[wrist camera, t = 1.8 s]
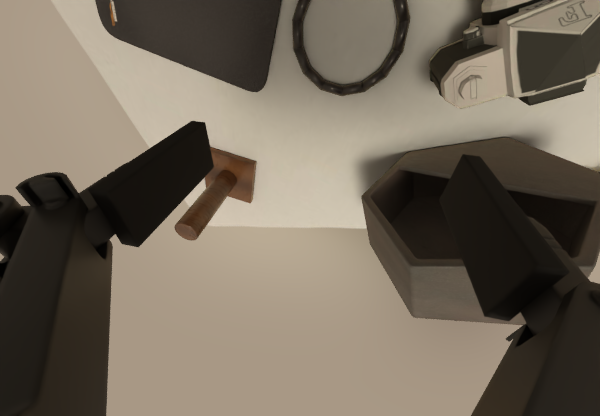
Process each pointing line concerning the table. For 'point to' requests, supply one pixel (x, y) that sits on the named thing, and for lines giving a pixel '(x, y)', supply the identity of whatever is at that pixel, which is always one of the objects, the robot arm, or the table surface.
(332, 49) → the table surface
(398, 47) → the ring
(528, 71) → the camera
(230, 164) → the stand
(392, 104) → the table surface
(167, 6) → the mouse pad
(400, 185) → the planter
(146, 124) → the table surface
